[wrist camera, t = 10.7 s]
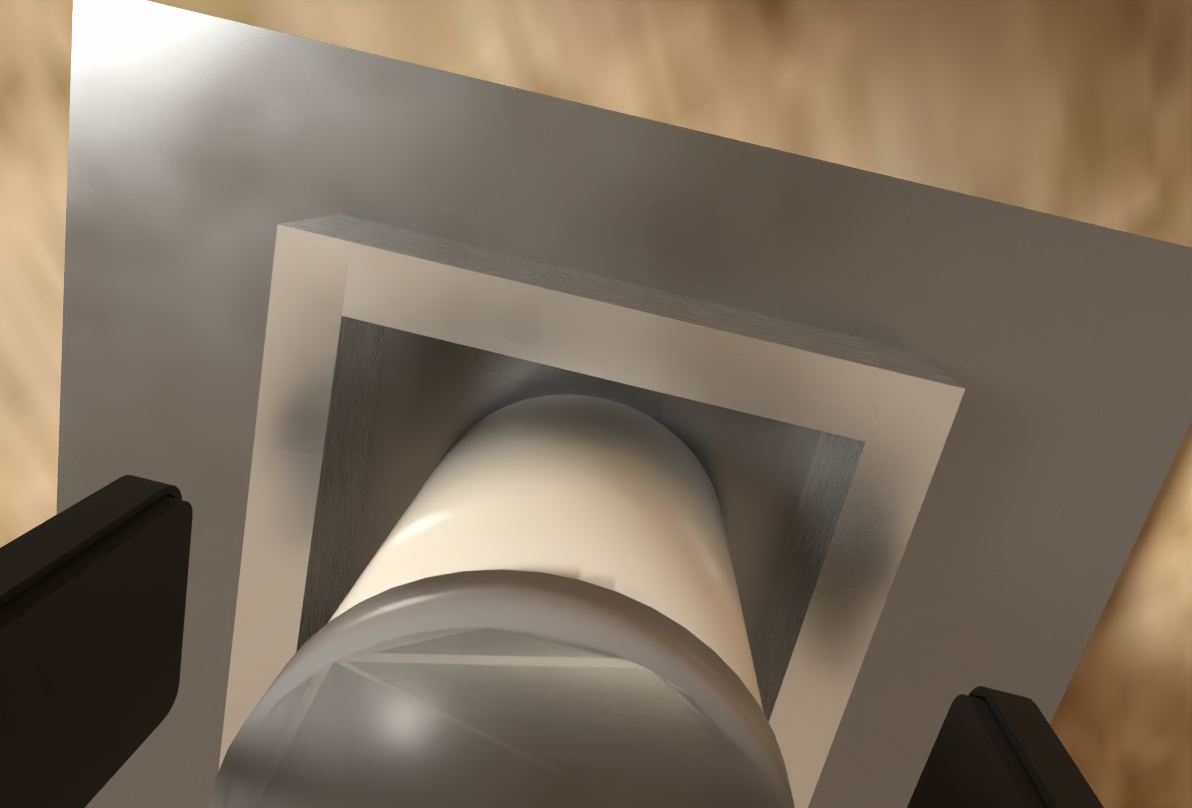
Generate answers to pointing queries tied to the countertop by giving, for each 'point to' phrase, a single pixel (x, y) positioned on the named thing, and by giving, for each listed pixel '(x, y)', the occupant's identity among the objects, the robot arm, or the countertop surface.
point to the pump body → (529, 640)
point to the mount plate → (597, 371)
